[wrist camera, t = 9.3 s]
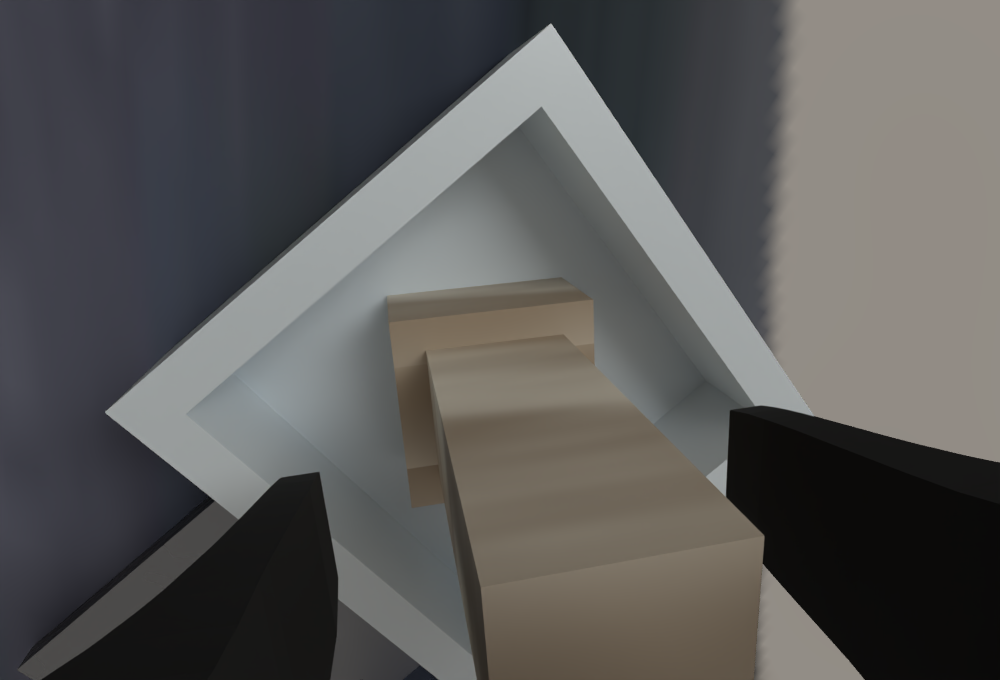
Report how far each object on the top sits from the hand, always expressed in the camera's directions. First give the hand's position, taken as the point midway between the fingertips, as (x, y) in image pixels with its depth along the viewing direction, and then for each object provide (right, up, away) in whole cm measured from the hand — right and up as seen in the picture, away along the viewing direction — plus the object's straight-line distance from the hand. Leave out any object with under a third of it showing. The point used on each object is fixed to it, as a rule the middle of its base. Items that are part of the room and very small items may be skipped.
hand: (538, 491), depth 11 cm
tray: (-1, +2, +6) cm, 7 cm away
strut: (-1, +2, +5) cm, 6 cm away
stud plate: (-8, -6, +8) cm, 13 cm away
